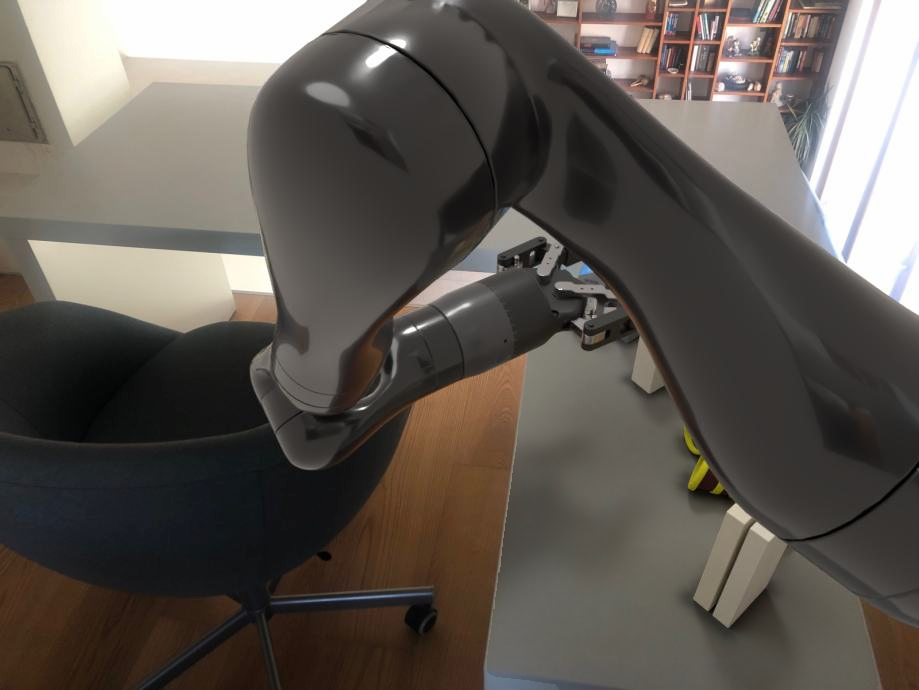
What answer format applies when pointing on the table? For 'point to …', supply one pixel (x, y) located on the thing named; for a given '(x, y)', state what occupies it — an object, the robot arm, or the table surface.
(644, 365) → the thin white book
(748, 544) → the white books
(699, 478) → the opera glasses
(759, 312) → the robot arm
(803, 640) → the table surface
